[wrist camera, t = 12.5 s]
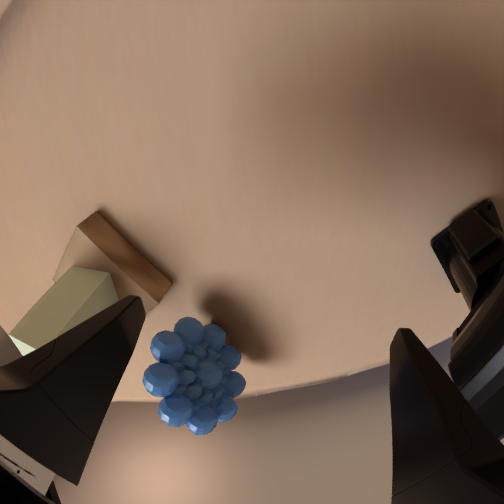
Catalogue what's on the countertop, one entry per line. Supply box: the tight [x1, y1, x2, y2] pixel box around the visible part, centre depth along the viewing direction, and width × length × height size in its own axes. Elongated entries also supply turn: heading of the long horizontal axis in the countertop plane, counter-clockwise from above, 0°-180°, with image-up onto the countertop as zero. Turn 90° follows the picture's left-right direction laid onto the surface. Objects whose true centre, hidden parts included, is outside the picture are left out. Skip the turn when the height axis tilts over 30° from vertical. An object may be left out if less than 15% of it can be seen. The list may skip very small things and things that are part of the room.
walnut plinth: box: [52, 211, 172, 314], centre depth 27 cm, size 10×10×3 cm
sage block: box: [9, 266, 119, 356], centre depth 22 cm, size 5×5×10 cm
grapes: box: [143, 317, 246, 435], centre depth 25 cm, size 12×7×12 cm, turn 31°
